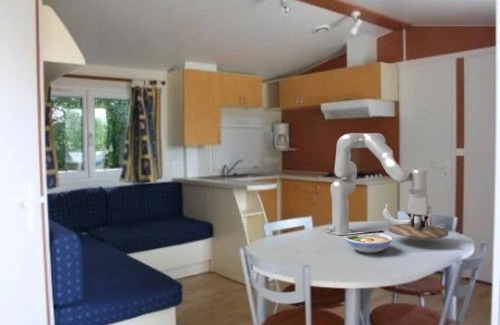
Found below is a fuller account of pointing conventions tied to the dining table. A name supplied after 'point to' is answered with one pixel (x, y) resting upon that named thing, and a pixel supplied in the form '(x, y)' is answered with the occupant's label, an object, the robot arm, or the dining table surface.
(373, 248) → the ramen bowl
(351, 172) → the robot arm
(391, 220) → the banana
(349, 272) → the dining table surface
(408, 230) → the lid
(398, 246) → the mat
